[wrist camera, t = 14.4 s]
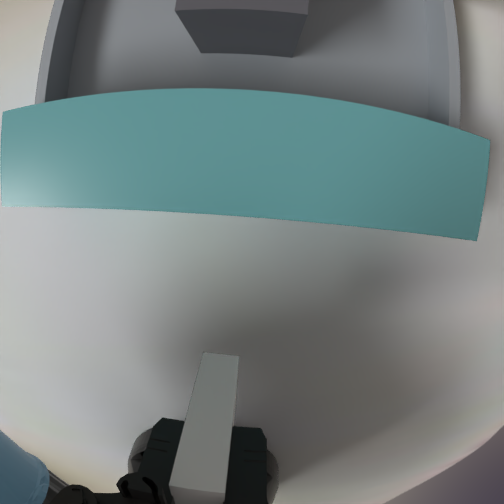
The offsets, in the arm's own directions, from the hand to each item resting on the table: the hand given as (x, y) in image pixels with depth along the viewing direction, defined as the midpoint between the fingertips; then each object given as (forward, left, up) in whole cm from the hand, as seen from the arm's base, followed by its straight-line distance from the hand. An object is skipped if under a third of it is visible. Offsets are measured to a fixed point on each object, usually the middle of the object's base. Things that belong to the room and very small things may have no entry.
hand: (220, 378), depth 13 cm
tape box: (+18, 0, -7) cm, 20 cm away
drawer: (+18, 0, -8) cm, 20 cm away
